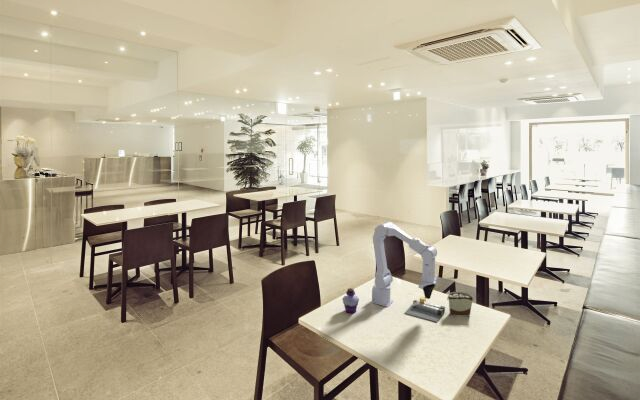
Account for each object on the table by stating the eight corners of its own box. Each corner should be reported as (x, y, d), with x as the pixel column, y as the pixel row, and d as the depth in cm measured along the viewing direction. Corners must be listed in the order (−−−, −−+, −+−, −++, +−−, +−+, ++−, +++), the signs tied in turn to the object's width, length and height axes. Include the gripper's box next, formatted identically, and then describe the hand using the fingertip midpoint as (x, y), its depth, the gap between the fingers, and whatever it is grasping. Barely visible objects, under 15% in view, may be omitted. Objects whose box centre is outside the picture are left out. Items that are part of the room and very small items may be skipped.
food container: (468, 309, 169) (469, 291, 168) (472, 315, 163) (474, 296, 162) (443, 309, 170) (444, 290, 169) (447, 315, 164) (447, 296, 163)
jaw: (411, 307, 172) (412, 300, 171) (414, 305, 174) (414, 299, 173) (441, 316, 162) (441, 309, 162) (443, 314, 164) (443, 307, 164)
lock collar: (419, 302, 172) (419, 298, 171) (421, 300, 174) (421, 296, 174) (424, 303, 170) (424, 299, 170) (425, 301, 173) (426, 297, 172)
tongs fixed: (413, 305, 174) (413, 300, 174) (414, 303, 176) (414, 299, 175) (443, 313, 165) (444, 308, 165) (444, 311, 167) (445, 306, 167)
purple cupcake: (359, 307, 174) (358, 285, 172) (359, 315, 166) (359, 293, 164) (342, 307, 175) (342, 285, 173) (342, 315, 167) (341, 292, 165)
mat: (404, 313, 167) (404, 312, 167) (413, 303, 177) (413, 302, 177) (437, 322, 158) (437, 321, 158) (444, 311, 168) (444, 310, 168)
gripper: (428, 278, 153) (427, 305, 155) (443, 269, 163) (442, 295, 165) (414, 274, 158) (414, 300, 160) (430, 266, 168) (429, 291, 170)
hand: (427, 297), depth 163 cm, fingers closed
